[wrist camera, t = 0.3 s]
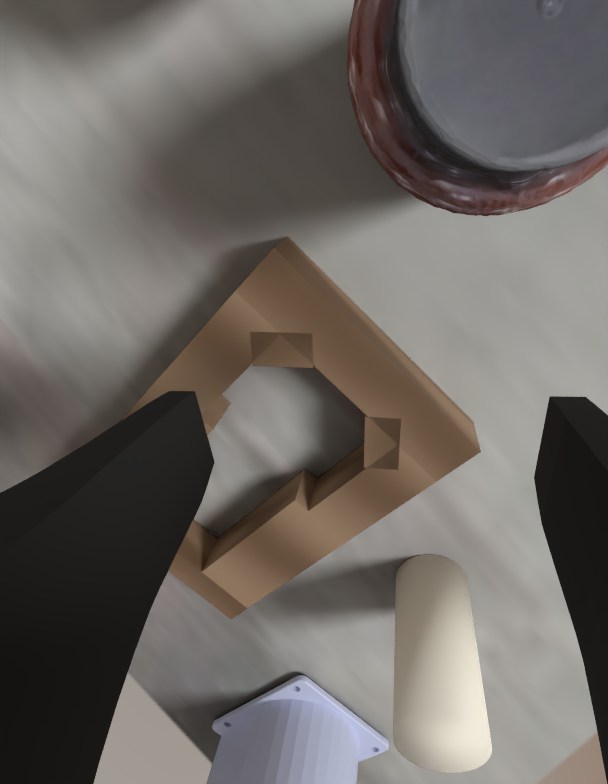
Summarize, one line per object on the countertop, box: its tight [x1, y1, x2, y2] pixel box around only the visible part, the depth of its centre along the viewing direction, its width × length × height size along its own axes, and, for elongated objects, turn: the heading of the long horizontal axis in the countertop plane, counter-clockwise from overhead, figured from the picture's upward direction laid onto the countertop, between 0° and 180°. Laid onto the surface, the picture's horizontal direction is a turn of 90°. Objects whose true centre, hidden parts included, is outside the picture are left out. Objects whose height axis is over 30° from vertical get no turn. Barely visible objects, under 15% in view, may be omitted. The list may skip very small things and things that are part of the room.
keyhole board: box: [121, 237, 481, 619], centre depth 23 cm, size 16×11×2 cm
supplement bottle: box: [347, 0, 608, 216], centre depth 11 cm, size 6×6×11 cm
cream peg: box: [393, 555, 492, 773], centre depth 22 cm, size 4×4×8 cm
